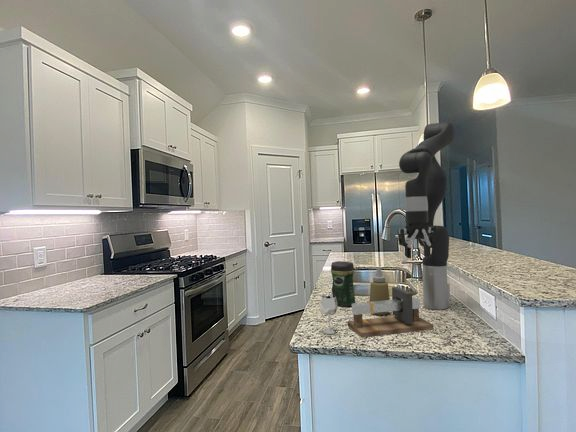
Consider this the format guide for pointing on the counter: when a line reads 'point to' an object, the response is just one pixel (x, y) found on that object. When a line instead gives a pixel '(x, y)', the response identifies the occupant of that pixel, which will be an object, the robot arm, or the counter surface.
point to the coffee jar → (343, 282)
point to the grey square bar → (381, 306)
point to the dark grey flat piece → (407, 310)
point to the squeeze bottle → (379, 289)
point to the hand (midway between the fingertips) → (417, 257)
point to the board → (387, 325)
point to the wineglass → (329, 309)
